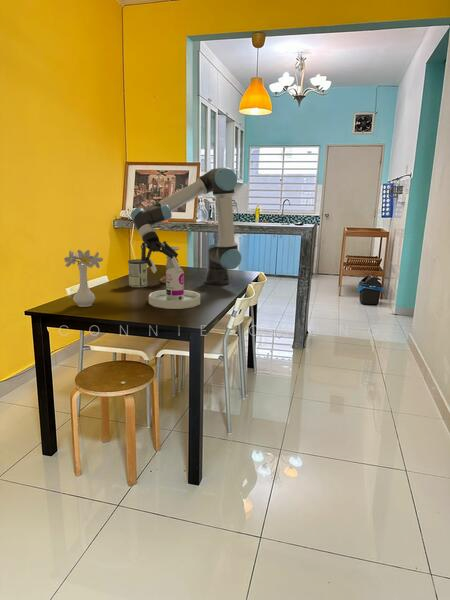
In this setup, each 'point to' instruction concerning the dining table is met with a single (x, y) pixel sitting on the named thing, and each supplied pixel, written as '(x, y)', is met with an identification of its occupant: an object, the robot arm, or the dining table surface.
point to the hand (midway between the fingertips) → (167, 270)
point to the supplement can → (175, 284)
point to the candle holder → (168, 264)
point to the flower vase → (83, 275)
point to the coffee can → (137, 273)
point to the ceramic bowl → (160, 301)
